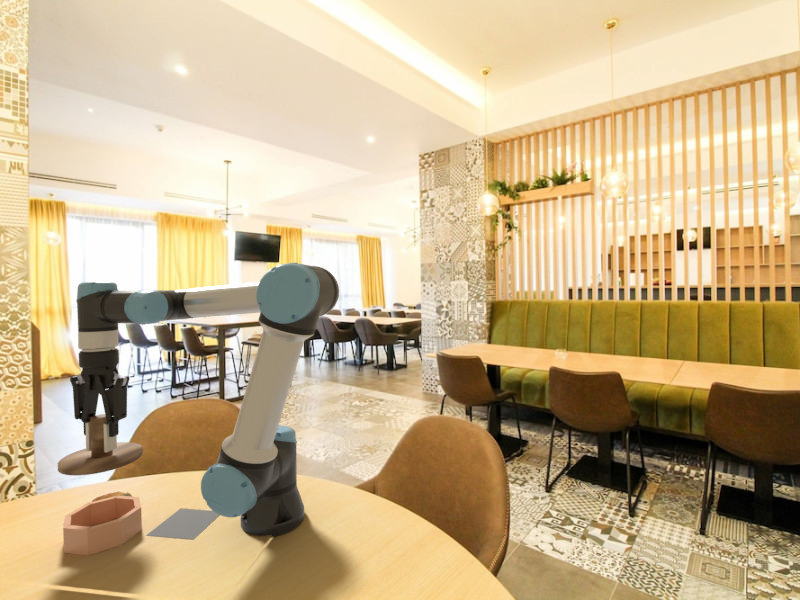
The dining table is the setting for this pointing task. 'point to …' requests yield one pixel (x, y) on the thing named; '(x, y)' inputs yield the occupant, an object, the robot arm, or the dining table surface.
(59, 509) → the dining table surface
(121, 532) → the bowl
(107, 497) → the pastry
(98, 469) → the lid
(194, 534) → the mat
